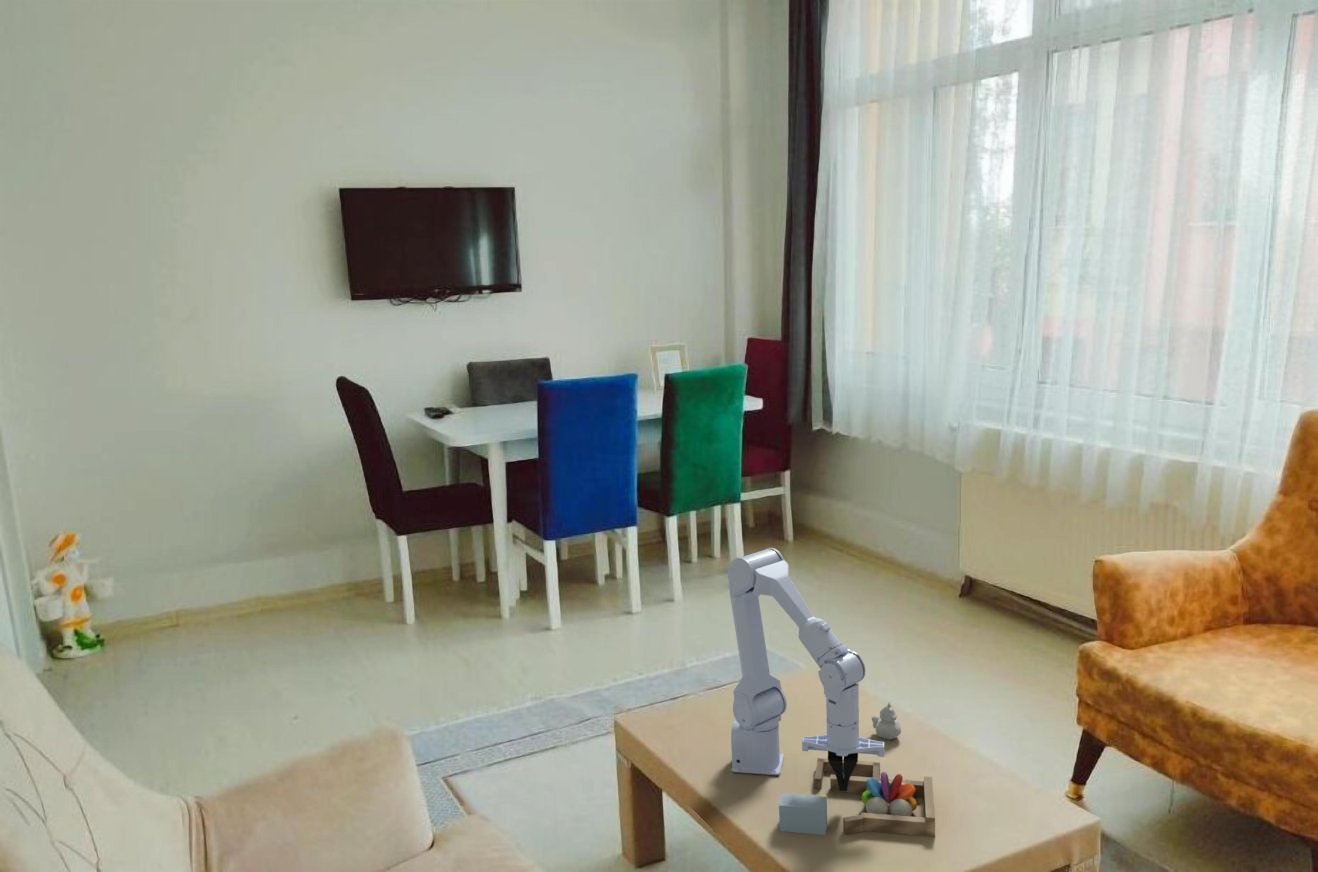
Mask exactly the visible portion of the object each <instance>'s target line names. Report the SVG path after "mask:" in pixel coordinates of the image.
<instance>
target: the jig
mask: <svg viewBox="0 0 1318 872" xmlns="http://www.w3.org/2000/svg"><path fill="white" fill-rule="evenodd" d="M815 767H816V769H815V774H814V788H815V789H822V787H823V779H824V772H829V773H830V772H833V773H834V771H833V769H832V767H831V765H830V764H829V761H828V758H821V757H817V759H816V766H815ZM843 773H844V759H843ZM852 774H858V775H859V774H860V775H872V777H867V776H857V775H856V776H855V775H854V776H853V775H851V776H850V779H849V782H848V788H847V791H839V785H838V781H837V778H836V775H835V774H830V779H829V780H830V782H829V784H830V786H829V787H830V788H829V789H830V791H831V792H840V793H842V792H843V793H852V794H853V793H854V794H863V792H865V791H866V790H867V783H866V782H867V780H868V779H869V778H874V779H876V780H877V781H880V782H881V762H880V761H867V760H866V761H864V760H858V761H857V764H856V766H855V768H854V770H853V771H852ZM843 776H844V774H843ZM893 779H894V778H888V780H889V785H891V783H892V781H893ZM902 783H904V784H912V785H913V786H914V787H915V793H914V794H913V798H919V799H923V803H924V804H923V805H924V817H921V816H912V815H911V816H898V815H891V814H887V815H886V814H874V813H867V812H860V814H857V815H852V816H846V817H843V818H842V825H843V826H842V828H843V829H842V831H843V832H844V834H845V835H852V834H857V833H864V832H865V831H866V832H877V833H888V834H899V835H901V834H902V835H912V836H923V837H925V836H926V837H933V838H934V837H936V813H935V798H934V796H935V795H934V785H933V777H932V776H923V780H912V779H911V780H909V779H903V780H902Z"/></svg>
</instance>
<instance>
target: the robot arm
mask: <svg viewBox="0 0 1318 872" xmlns="http://www.w3.org/2000/svg"><path fill="white" fill-rule="evenodd" d="M789 567H790V566H789V564H788V562H787V561H786V560H785V559H784V556H783V555H782V554H781V552H780V551H779V550H778V549H776V548H774V547H768V548H765V549H763V550H759V551H757V552H754V553H750V554H748V555H744V556H741V557H740V556H739V557H736V558H734V559H733V560H732V561H731V562H730V563H729V564H728V566H727V567H726V573H727V579H728V585H729V596H730V604H731V610H732V616H733V623H734V629H735V630H734V631H735V637H736V642H737V650H738V656H739V663H740V669H741V675H742V676H741V678H740V680H739V681H738V682H737V684H736V686H735V688H734V689H733V692H732V693H733V702H732V703H733V704H732V712H733V716H734V719H735V720H733V722H732V725H731V730H730V731H731V736H730V737H731V738H730V743H731V744H730V745H731V746H730V747H731V767H732V768H731V771H732V772H733V773H739V774H740V773H742V774H753V775H755V774H756V775H766V776H769V775H770V776H780V775H781V771H782V767H783V761H784V756H785V754H784V753H783V752H780V748H781V747H780V727H779V726H780V725H779V724H780V722H781V721H782V715H783V714H785V712H786V710H787V706H788V703H787V698H786V695H785V693H784V692H783V689H782V685H781V680H780V679H779V678H777V677H775V676H774V675H772V674H771V671H770V666H769V659H768V653H767V646H766V639H765V632H764V625H763V620H762V614H761V608H760V607H761V606H760V598H759V597H760V595H761V596H769V597H773V598H774V600H775V601H776V602H777V603H778V605H779V606H780V607H781V609H783V610H784V611H785V613H786V614H787V615H788V616H789V617H790V619H791V620H792V621H793V622H794V623H795V625H796V626H797V627H798V639H799V641H800V642H801V643H802V645H803V647H804V648H805V649H806V650H807V652H808V653H809V654H810V656H811V658H812V659H813V660H814V662H815V663H816V664H817V666H818V667H819V669H820V670H818V671H817V672H818V678H819V681H820V682H821V684H822V687H823V694H824V696H825V698H826V700H825V701H826V707H825V708H826V710H825V711H826V734H821V735H810V736H809V735H808V736H806V735H804V736H802V741H801V751H802V752H809V751H821V752H822V751H823V752H827V759H828V761H829V764H830V765H831V767H832V769H833V771H834V772H833V773H834V775H836V778H837V781H838V785H839V791H847V788H848V782H849V779H850V776H852V774H853V773H852V771H853V770H854V768H855V766H856V764H857V761H859V754H861V755H862V754H863V755H865V754H867V755H877V756H878V757H880V758H884V757H885V741H878V740H873V739H870V738H866V737H863V736H860V706H859V705H860V698H859V697H860V696H859V695H860V693H859V692H860V691H859V689H860V688H859V686H860V685H859V682H861V681H863V680H864V679H865V676H866V666H865V663H864V661H863V659H862V657H861V655H860V654H859V653H858V652H856V651H854V650H851V649H850V648H848V646H846V645H843V643H842V642H841V641H840V640H839V638H838V637H837V636H836V634H835V633H834V631H833V630H832V629H831V627H830V625H829V624H828V623H827V622H826V620H825V619H823V618H819V617H816V616H814V615H813V613H812V612H811V610H810V608H809V607H808V605H807V603H806V601H805V600H804V599H803V597H802V596H801V593H800V592H799V590H798V589H797V587H796V586H795V584H794V583H793V581H792V579H791V578H790V576H789V574H790V573H789V572H790V568H789ZM843 760H844V772H843ZM843 775H844V776H843Z"/></svg>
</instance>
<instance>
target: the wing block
mask: <svg viewBox="0 0 1318 872" xmlns="http://www.w3.org/2000/svg"><path fill="white" fill-rule="evenodd" d="M827 800H828V796H820V795H819V796H818V795H806V794H795V793H782V792H781V795H780V799H779V803H778V804H779V805H778V820H779V832H789V833H791V832H792V833H799V834H811V835H821V836H826V835H827V828H828V827H827V826H828V801H827Z"/></svg>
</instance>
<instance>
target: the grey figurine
mask: <svg viewBox="0 0 1318 872" xmlns="http://www.w3.org/2000/svg"><path fill="white" fill-rule="evenodd" d="M897 718H898V714H897V712H896V710H894V707H892V705H891V703H890V702H888V704H887V705H886V706H884V707H883V708H881V710H880V711H879V715H877V714H874V715H872V716H871V721H872V728H873V729H875V733H876V735H877V736H878V737H880V738H882V739H885V740H888V741H889V740H894V739H897V737H899V735H901V733H902V729H901V728H902V727H901V725H900V722H899V720H898V719H897Z"/></svg>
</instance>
